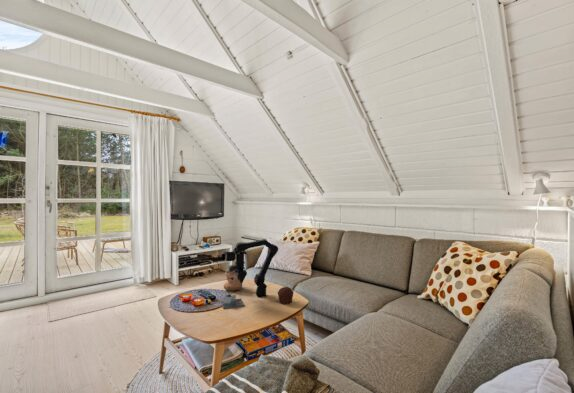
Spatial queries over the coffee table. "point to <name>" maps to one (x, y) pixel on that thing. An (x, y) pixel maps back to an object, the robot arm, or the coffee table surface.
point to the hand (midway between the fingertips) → (240, 281)
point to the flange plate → (238, 304)
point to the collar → (229, 299)
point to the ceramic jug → (232, 281)
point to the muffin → (285, 295)
